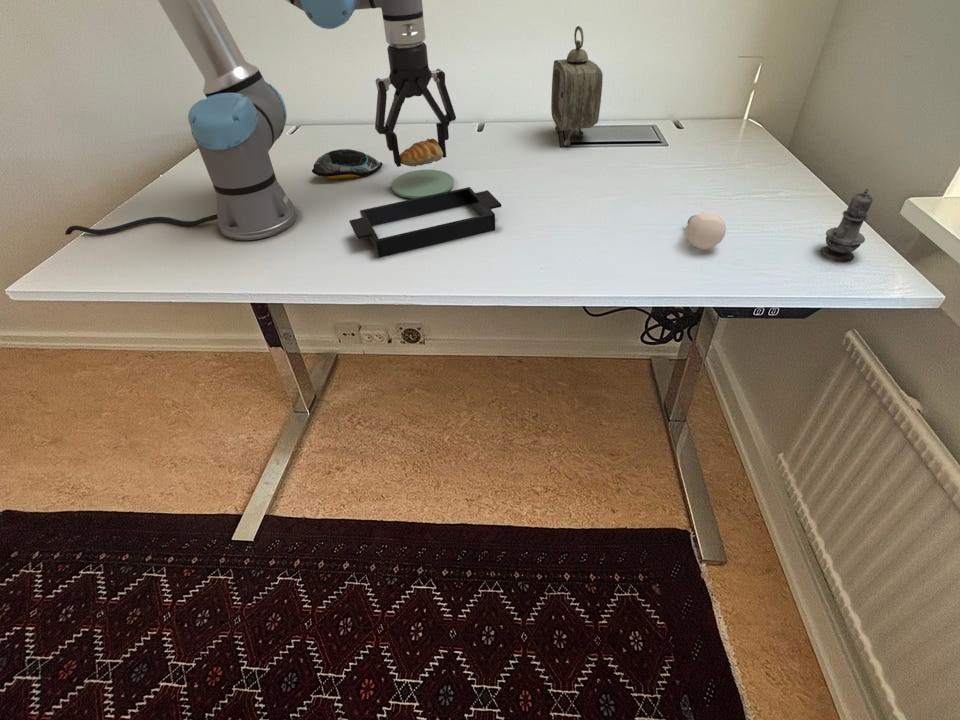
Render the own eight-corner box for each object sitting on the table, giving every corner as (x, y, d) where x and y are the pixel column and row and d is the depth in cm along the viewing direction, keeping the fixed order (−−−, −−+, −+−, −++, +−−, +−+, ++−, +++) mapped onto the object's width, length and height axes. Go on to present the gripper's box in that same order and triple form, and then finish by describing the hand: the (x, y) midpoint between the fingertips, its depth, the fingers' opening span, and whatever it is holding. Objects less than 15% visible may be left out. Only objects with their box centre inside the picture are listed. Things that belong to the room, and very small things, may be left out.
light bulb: (682, 200, 100) (699, 211, 91) (717, 207, 101) (737, 219, 91) (670, 234, 103) (686, 249, 94) (704, 241, 103) (722, 257, 94)
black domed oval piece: (388, 172, 127) (384, 147, 124) (318, 188, 122) (312, 163, 118) (377, 160, 133) (373, 136, 129) (310, 174, 128) (304, 150, 124)
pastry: (410, 171, 113) (407, 153, 110) (393, 162, 117) (390, 145, 114) (446, 159, 117) (444, 141, 114) (428, 151, 121) (426, 133, 119)
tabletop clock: (549, 129, 144) (554, 21, 127) (582, 127, 145) (592, 19, 128) (561, 149, 133) (569, 34, 117) (597, 146, 134) (609, 32, 117)
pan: (364, 261, 98) (360, 244, 96) (349, 229, 107) (345, 213, 105) (508, 227, 105) (508, 210, 103) (482, 199, 115) (481, 184, 112)
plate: (401, 205, 114) (401, 201, 114) (385, 180, 124) (384, 176, 123) (463, 192, 118) (462, 188, 117) (442, 169, 127) (441, 165, 127)
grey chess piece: (838, 266, 91) (870, 199, 83) (810, 250, 95) (838, 185, 87) (863, 258, 92) (897, 191, 84) (834, 242, 96) (864, 178, 88)
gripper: (352, 55, 96) (374, 176, 111) (468, 39, 102) (474, 156, 117) (344, 47, 102) (366, 163, 117) (454, 32, 107) (462, 144, 122)
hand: (420, 159), depth 117 cm, fingers closed on pastry, 10 cm apart
